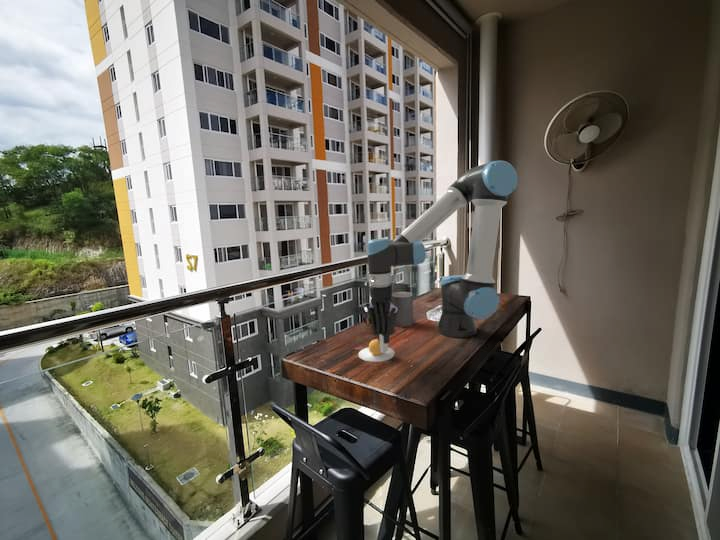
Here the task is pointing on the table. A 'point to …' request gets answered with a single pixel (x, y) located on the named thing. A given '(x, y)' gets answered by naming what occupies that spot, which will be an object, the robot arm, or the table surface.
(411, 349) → the table surface
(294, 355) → the table surface
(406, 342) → the table surface
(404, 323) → the pillar candle
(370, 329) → the pottery mug
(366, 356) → the disc
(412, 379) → the table surface
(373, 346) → the ball
